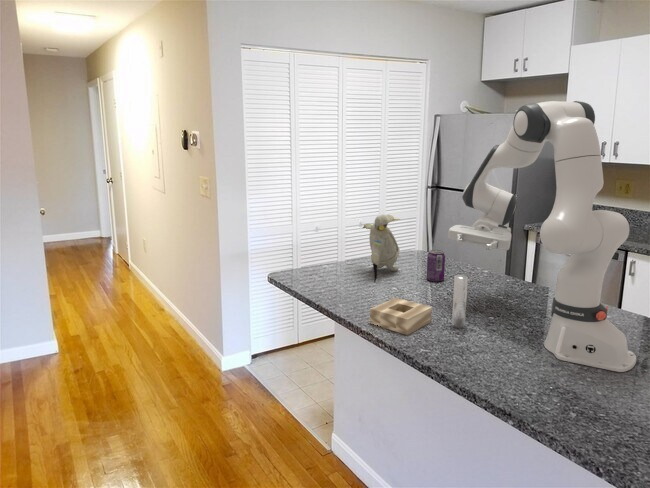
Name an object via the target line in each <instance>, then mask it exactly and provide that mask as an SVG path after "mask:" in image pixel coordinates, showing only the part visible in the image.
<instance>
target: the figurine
mask: <svg viewBox="0 0 650 488" xmlns="http://www.w3.org/2000/svg"><path fill="white" fill-rule="evenodd" d="M399 220H401V219H400V218H395V217H394V216H393V215H391V214H386V215H385V214H379V215H377V216H376V218H375V219H374V221H373V222H374V223H372V224H371V223H370V222H369V223H364V224H363V227H362V229H364V228H365V229H366V230H370V232H369V246H370V251H371V254H370V260H371V263H372V266H371V268H370V269H371V270H373V277H374V279H373V281H374V283H375V282H376V281H377V278H378V277H377V276H378V270H379V269H382V268H384V267H386V268H387V269H388V270H389V271H392V272H396V271H398V270H399V269H400V268H399V266H394V265H395V264H396V262H397V261H398V257H399V256H400V248H399V245H398V242H397V240H396V238H395V236H394V234H393V233H392V230H391V229H390V228H389V227H388V224H390V223H392V222H394V221H399Z"/></svg>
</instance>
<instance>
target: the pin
mask: <svg viewBox="0 0 650 488" xmlns="http://www.w3.org/2000/svg"><path fill="white" fill-rule="evenodd" d="M468 279H469V276H466V275H463V274H457V275H454V279H453V281H454V282H453V294H452V295H453V296H452V297H453V298H452V313H451V314H452V316H451V318H452V319H451V327H454V328H458V329H463V328H465V327H466V317H467V316H466V315H467V314H466V311H467V298H468V297H467V296H468Z"/></svg>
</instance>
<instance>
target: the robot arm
mask: <svg viewBox="0 0 650 488" xmlns="http://www.w3.org/2000/svg"><path fill="white" fill-rule="evenodd" d="M595 122H596V114H595V110H594V109H593V107H592V105H591V104H589V103H587V102H585V101H579V100H574V101H561V100H560V101H558V100H551V101H550V100H549V101H542V102H537V103H536V102H530V103H527V104H524V105H521V107H519V108H518V109H517V111H516V112H515V115H514V118H513V123H512V126H511V127H510V129H509V132H508V134H507V137H506V139H505V140H504V142H503V143H501V144H495V145H494V146H493V147H492V148H491V149H490V150H489V152H488V154H487V155H486V157H485V158H484V159H483V161H482V163H481V164H480V166H479V168H478V169H477V171H476V173H475V174H474V176H473V177H472V180H471V181H469V183H468V184H467V185H466V186H465V188H464V189H463V193H462V196H461V198H462V201H463V203H464V204H465V206H466V207H468V208H471V209H474V210H475V209H476V210H477V211H480V212H483V214H481V216H480V217H478V219H477V220H476V221H475V222H474V223H473V224H472V225H471V226H468V225H464V224H454V225H453V226H451V227H450V228H449V229H448V233H447V238H448V239H449V240H451V241H456V244H458V245H462V244H463V243H465V244H466V243H467V244H472V245H476V246H482V247H484V248H485V249H486V250H488V251H491V250H495V249H496V250H501V251H509V250H510V247H511V243H512V242H511V241H512V233H511V232H512V228H511V227H509V226H506V225H507V224H509V223H510V221H511V220H512V218H513V217H514V214H515V212H516V210H517V208H518V201H517V197H516V195H515V194H514V193H511V192H509V191H507V190H504V189H501V188H498V187H496V186H493V185H491V184H489V183H487V182H486V180H487V178H489V177H488V176H489V175H490V174H491V172H492V171H493V169H497V168H498V169H499V168H504V169H505V168H506V169H507V168H509V169H520V168H521V169H522V168H525V167H530V165H532V164H534V163H535V162H536V161H537V159H538V157H539V156H540V154H541V153H542V150H543V147H544V146H545V143H546V142H549V143H550V144H551V145H552V147H553V156H554V157H553V158H554V161H553V162H554V169H555V170H554V172H555V182H556V183H555V185H556V190H555V199H554V204H553V207H552V209H551V212H550V213H549V215H548V217H547V218H546V219H545V220H544V221H543V222H542V224H541V227H540V229H539V238H540V242H541V244H542V246H543V248H544V249H545V250H546V251H548V253H549V252H550V253H553V254H557V255H563V256H564V255H566V256H569V258H568V259H567V260H566V262H565V263H564V264H563V265H562V266H561V267H560V268H559V270H558V271H557V274H556V275H557V276H556V283H555V284H556V285H555V291H554V297H553V298H552V302H551V313H550V314H551V321H550V326H549V329H548V332H547V335H546V338H545V340H544V341H543V345H544V348H545V349H546V350H547V351H549V352H550V353H552V354H553V355H554V356H555V357H556V359H558V360H559V361H565V362H569V363H574V364H579V365H583V366H588V367H593V368H597V369H603V370H607V371H612V372H617V373H624V372H627V371H630V370H632V369H633V368H634V367H635V366H636V363H637V355H636V354H635V352H633V351H631V350H629V348H628V347H629V346H628V339H627V337H626V334H625V333H623V332H622V331H621V330H620V329H619V328H618V327H616V325H614V324H613V323H612V322H611V321H609V319H607V318H608V311H609V306H606V307H605V306H604V305H603V304H601V296H602V289H603V285H604V279H605V275H606V272H607V269H608V267H609V265H610V263H611V261H612V258H614V255H615V253H616V252H617V251H618V249H619V247H621V245H623V244H624V243H625V242H626V241H627V239H628V238H629V236H630V225H629V222H628V219H627V218H626V217H625V216H624V215H623V214H621V213H619V212H616V211H613V210H606V209H597V210H593V205H594V202H595V198H596V196H597V194H598V193H599V192H601V190H602V189H603V187H604V172H603V163H602V161H603V160H602V154H601V153H602V152H601V146H600V141H599V137H598V134H597V130H596V128H595V127H596V126H595Z"/></svg>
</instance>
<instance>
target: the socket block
mask: <svg viewBox="0 0 650 488" xmlns="http://www.w3.org/2000/svg"><path fill="white" fill-rule="evenodd" d="M432 308H433V307H432V306H429V305H425V304H423V303H422V304H421V303H418V302H413V301H409V300H406V299H401V298H400V297H399V298H398V297H394V298H390V299H389V300H387V301H385V302H382V303H380V304H377V305H375V306H374V307H371V308H370V309H369V314H370V315H369V324H370V323H371V324H370V325H373V324H374V325H375V326H377V325H378V326H377V327H380V326H381V327H380V328H383V329H387V330H389V331H393V332H397V333H399V334H403V335H405V336H408V335H410V334H411V333H414V332H416V331H418V330H419V329H420V328H422V327H424V326H426V325H428V324H430V323H431V322H432V313H433V312H432Z"/></svg>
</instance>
